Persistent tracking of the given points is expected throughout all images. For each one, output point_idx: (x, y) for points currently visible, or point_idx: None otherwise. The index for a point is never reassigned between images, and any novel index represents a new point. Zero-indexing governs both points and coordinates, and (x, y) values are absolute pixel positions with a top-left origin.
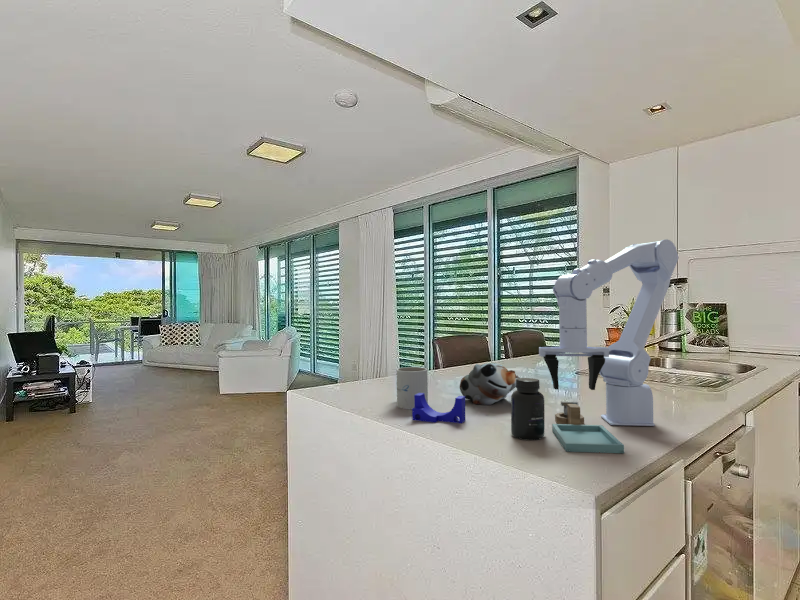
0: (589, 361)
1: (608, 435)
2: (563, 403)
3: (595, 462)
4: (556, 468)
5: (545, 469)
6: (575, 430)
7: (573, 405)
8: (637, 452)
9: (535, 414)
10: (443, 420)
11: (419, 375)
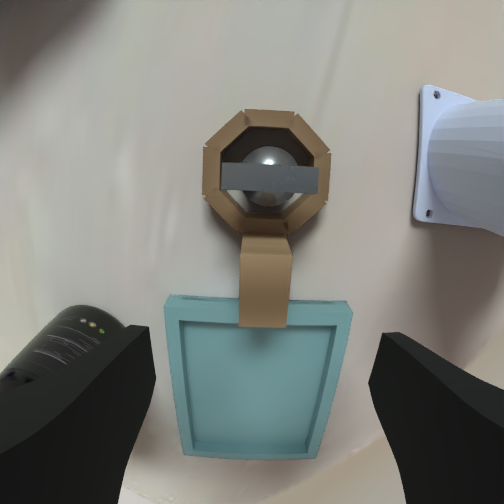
0: (485, 482)
1: (319, 403)
2: (232, 189)
3: (233, 476)
4: (162, 485)
5: (145, 484)
6: None
7: (264, 289)
8: (345, 435)
9: None
10: None
11: None
